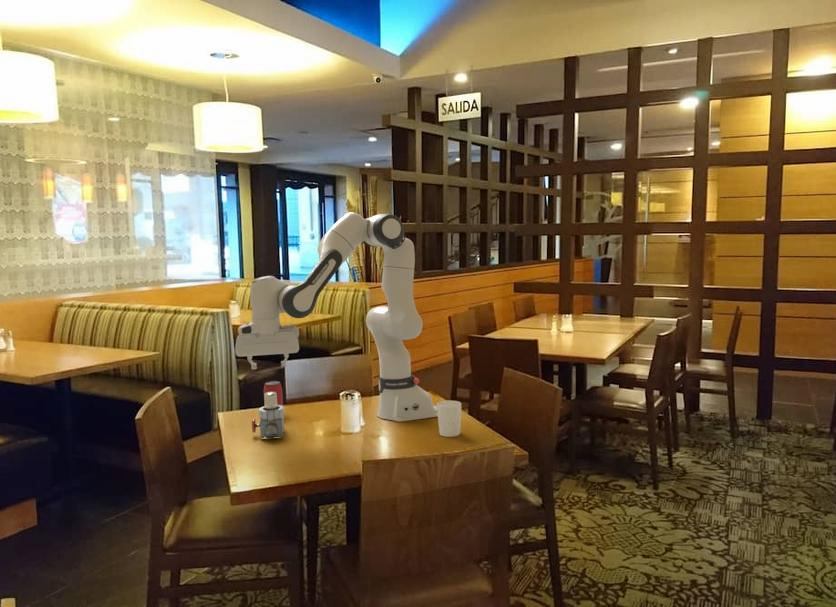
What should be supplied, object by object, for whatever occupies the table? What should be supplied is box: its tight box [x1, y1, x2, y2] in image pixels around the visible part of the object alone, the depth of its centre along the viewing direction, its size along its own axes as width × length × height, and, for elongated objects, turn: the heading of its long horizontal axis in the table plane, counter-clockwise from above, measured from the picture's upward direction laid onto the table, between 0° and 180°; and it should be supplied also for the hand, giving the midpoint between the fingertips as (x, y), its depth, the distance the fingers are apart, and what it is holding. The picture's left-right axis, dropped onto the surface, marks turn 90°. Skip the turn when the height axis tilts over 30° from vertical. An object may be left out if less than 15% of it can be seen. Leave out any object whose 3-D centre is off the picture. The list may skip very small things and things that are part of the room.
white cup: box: [436, 400, 462, 438], centre depth 205 cm, size 8×8×10 cm
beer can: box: [263, 380, 284, 407], centre depth 233 cm, size 7×7×12 cm
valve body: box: [251, 405, 285, 439], centre depth 210 cm, size 10×14×9 cm
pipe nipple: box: [263, 392, 278, 411], centre depth 209 cm, size 4×4×8 cm
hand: (268, 367), depth 208 cm, fingers open, 8 cm apart
